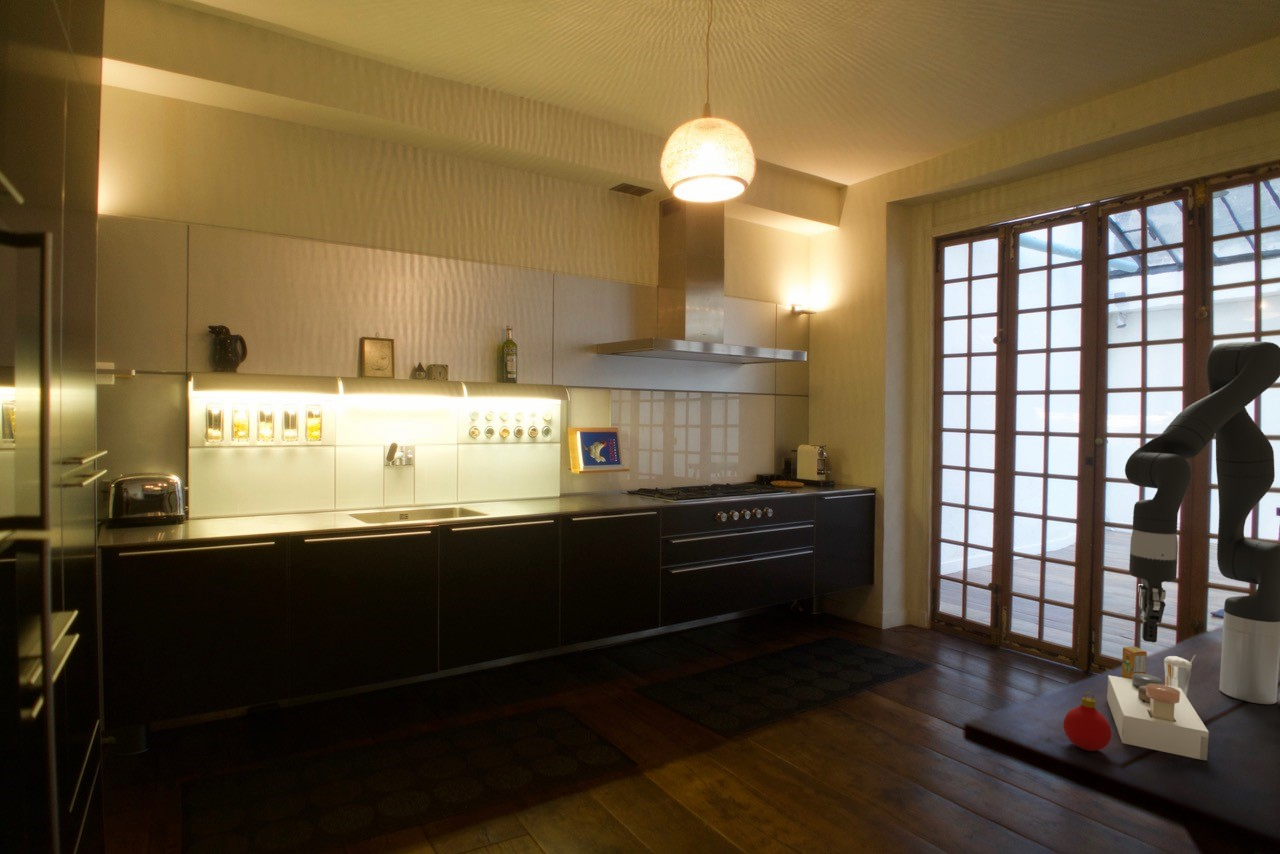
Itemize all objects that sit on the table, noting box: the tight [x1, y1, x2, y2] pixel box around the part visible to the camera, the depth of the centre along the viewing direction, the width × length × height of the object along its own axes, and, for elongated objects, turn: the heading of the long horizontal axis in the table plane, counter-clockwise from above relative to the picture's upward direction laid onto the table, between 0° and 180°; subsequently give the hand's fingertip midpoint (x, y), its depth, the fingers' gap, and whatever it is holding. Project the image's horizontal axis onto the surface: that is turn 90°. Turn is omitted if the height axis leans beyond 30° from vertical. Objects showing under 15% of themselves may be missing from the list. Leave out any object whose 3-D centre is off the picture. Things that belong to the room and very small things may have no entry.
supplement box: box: [1121, 646, 1148, 679], centre depth 147 cm, size 3×3×10 cm
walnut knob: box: [1138, 686, 1150, 703], centre depth 132 cm, size 5×5×6 cm
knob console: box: [1106, 674, 1210, 762], centre depth 132 cm, size 22×12×5 cm, turn 152°
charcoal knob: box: [1132, 673, 1163, 689], centre depth 139 cm, size 5×5×6 cm
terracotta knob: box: [1146, 684, 1180, 722], centre depth 125 cm, size 5×5×6 cm
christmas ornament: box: [1063, 691, 1112, 752], centre depth 122 cm, size 7×7×10 cm
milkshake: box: [1163, 654, 1196, 697], centre depth 145 cm, size 4×5×10 cm
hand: (1149, 640), depth 138 cm, fingers closed
